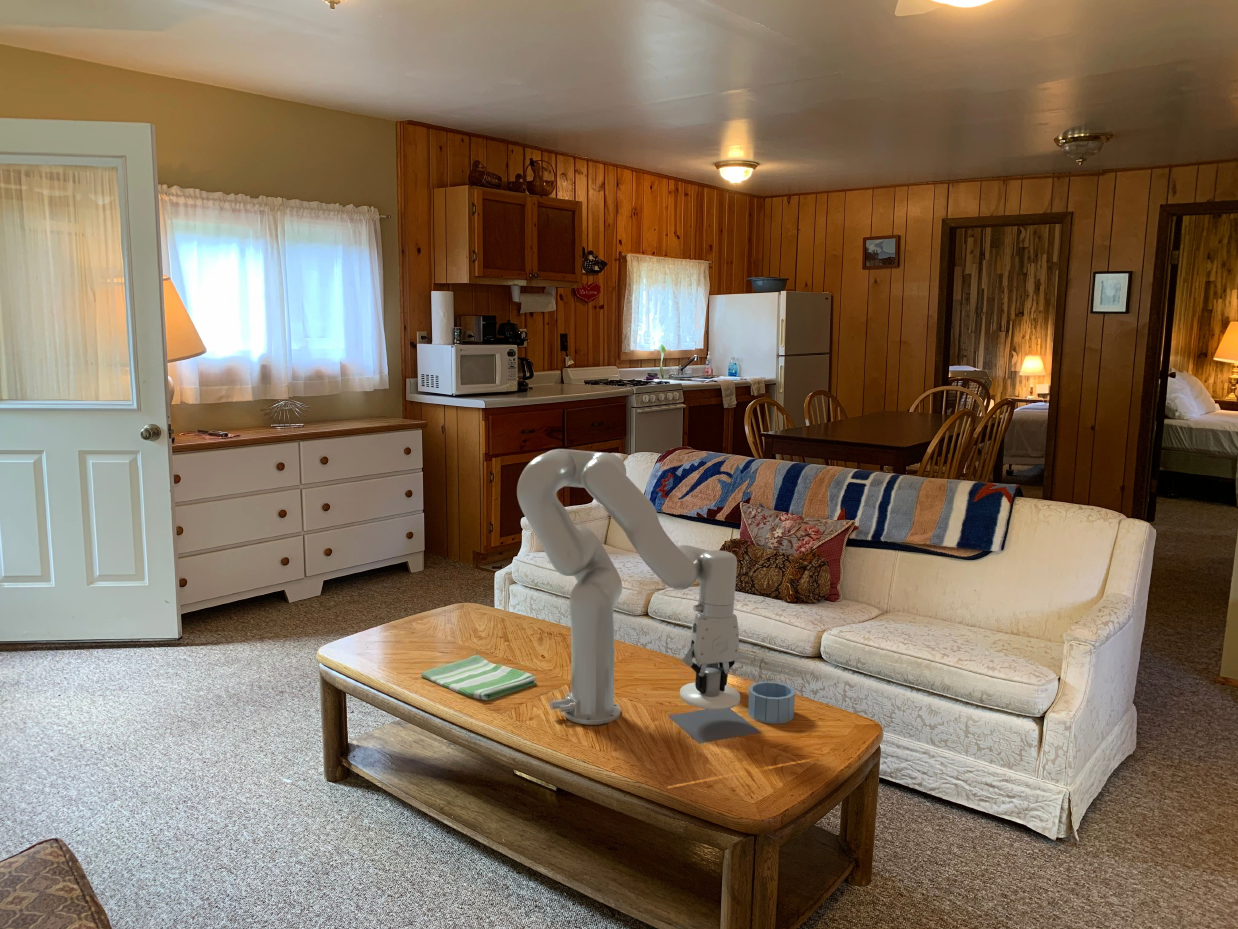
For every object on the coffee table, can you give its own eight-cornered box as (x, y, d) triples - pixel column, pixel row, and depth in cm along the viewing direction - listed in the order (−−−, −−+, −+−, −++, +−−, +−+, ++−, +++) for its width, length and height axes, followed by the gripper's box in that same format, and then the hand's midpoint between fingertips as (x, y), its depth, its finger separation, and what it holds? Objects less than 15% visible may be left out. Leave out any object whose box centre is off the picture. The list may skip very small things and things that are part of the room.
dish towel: (478, 661, 241) (478, 651, 240) (539, 685, 225) (539, 674, 224) (421, 679, 228) (420, 668, 227) (480, 706, 212) (480, 694, 212)
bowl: (763, 727, 201) (764, 701, 200) (740, 710, 210) (740, 685, 209) (802, 721, 205) (803, 695, 204) (777, 704, 214) (778, 679, 213)
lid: (697, 713, 193) (699, 685, 192) (669, 689, 205) (671, 663, 204) (751, 706, 198) (753, 679, 197) (721, 683, 210) (723, 657, 209)
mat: (698, 745, 192) (698, 743, 192) (667, 717, 206) (667, 715, 206) (761, 733, 198) (761, 732, 198) (726, 707, 212) (726, 705, 212)
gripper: (688, 617, 192) (683, 701, 194) (758, 611, 198) (752, 693, 201) (673, 606, 199) (667, 688, 201) (741, 601, 205) (735, 680, 208)
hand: (710, 689), depth 201 cm, fingers closed on lid, 4 cm apart
